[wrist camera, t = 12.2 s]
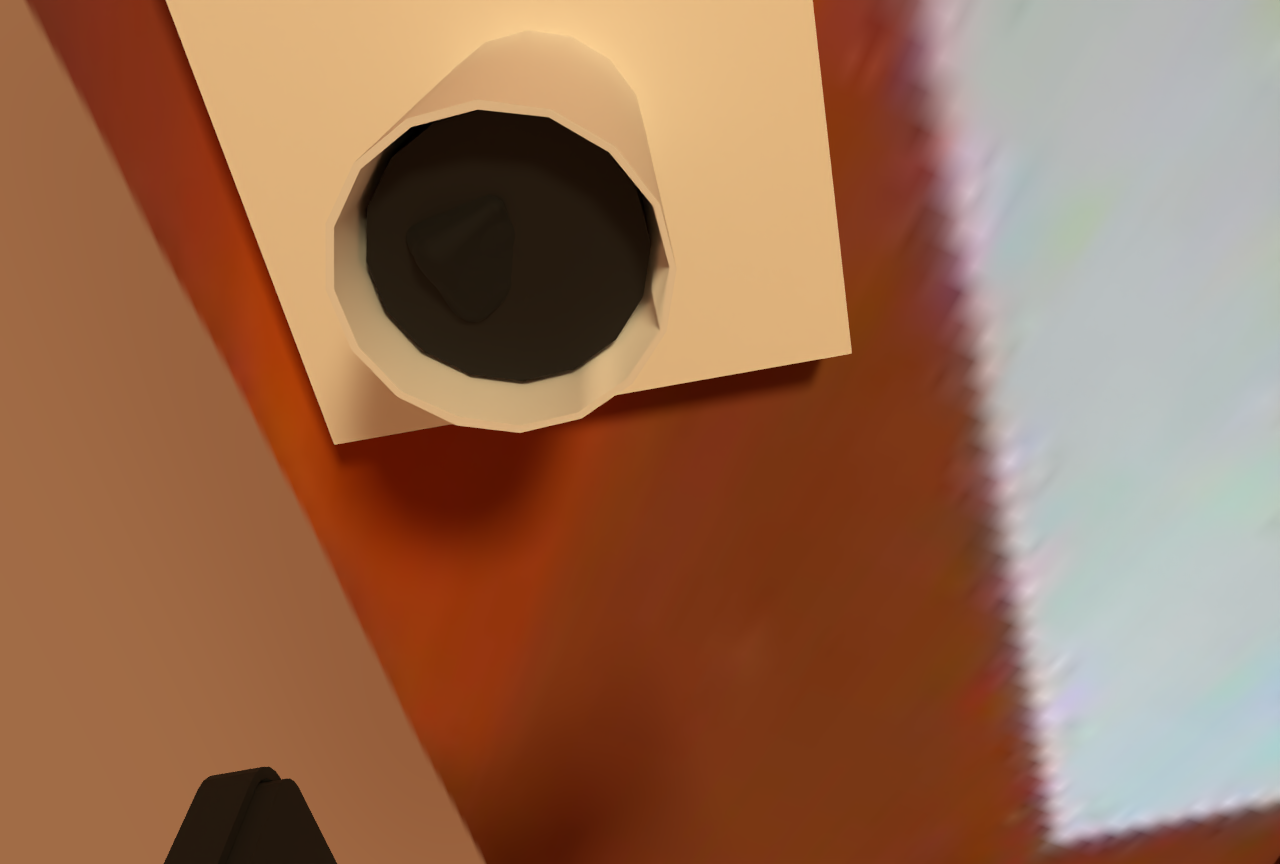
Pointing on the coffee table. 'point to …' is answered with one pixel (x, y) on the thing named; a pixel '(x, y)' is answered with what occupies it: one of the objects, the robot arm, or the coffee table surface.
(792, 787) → the coffee table surface
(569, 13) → the plinth
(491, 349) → the cream cup
